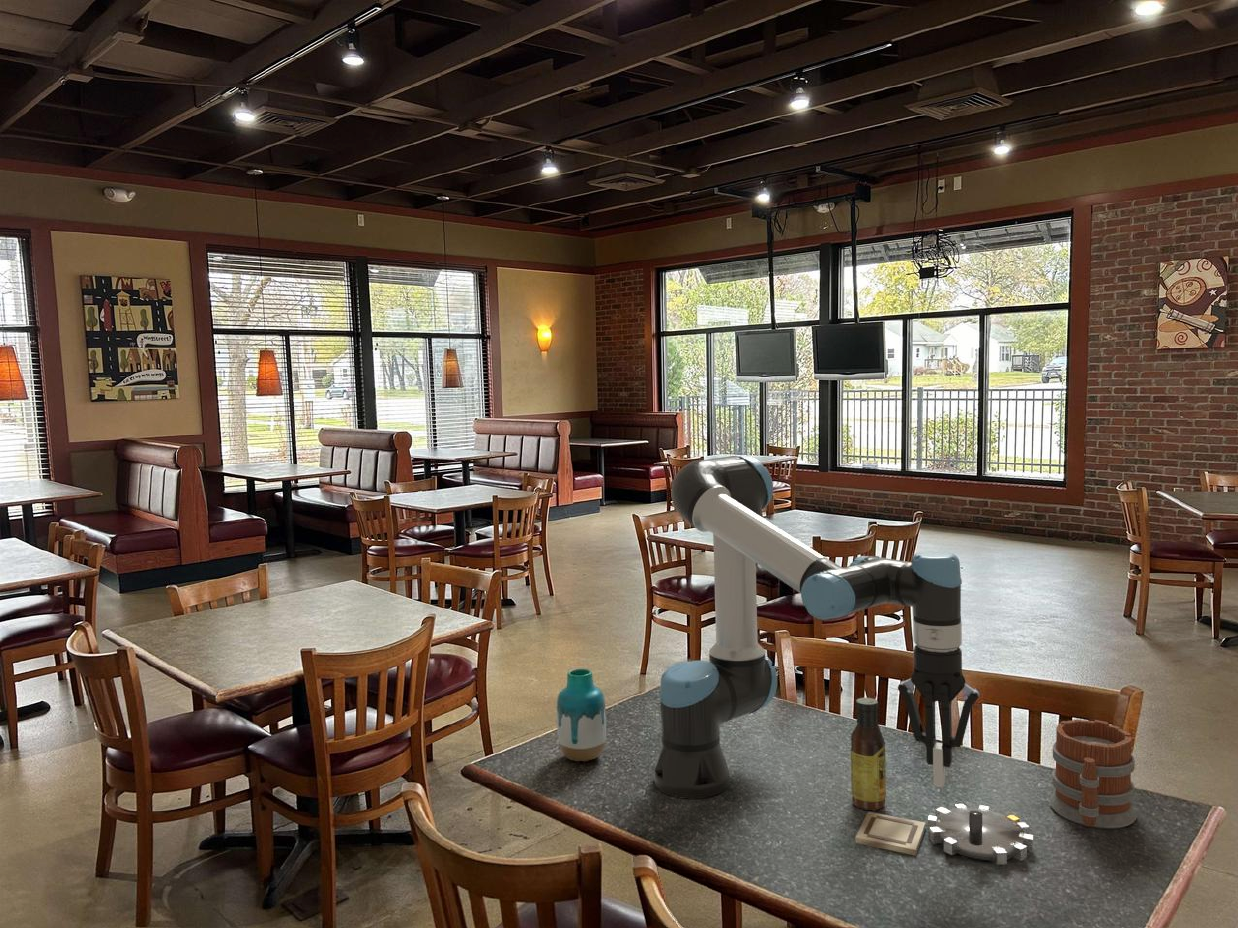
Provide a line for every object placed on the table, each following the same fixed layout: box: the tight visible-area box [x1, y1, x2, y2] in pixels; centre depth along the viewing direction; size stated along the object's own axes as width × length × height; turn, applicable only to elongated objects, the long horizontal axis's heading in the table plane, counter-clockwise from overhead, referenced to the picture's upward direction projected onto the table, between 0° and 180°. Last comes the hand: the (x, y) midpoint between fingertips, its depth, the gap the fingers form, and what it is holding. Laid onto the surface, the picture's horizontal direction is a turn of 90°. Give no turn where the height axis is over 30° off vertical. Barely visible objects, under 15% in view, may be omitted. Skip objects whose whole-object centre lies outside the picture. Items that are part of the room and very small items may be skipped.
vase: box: [556, 667, 607, 762], centre depth 189 cm, size 11×11×19 cm
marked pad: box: [854, 811, 926, 856], centre depth 154 cm, size 10×10×1 cm
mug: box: [1048, 719, 1138, 830], centre depth 157 cm, size 14×19×15 cm
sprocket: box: [927, 803, 1034, 865], centre depth 151 cm, size 17×16×7 cm
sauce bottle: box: [850, 697, 887, 811], centre depth 165 cm, size 7×6×20 cm
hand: (939, 783), depth 147 cm, fingers closed
